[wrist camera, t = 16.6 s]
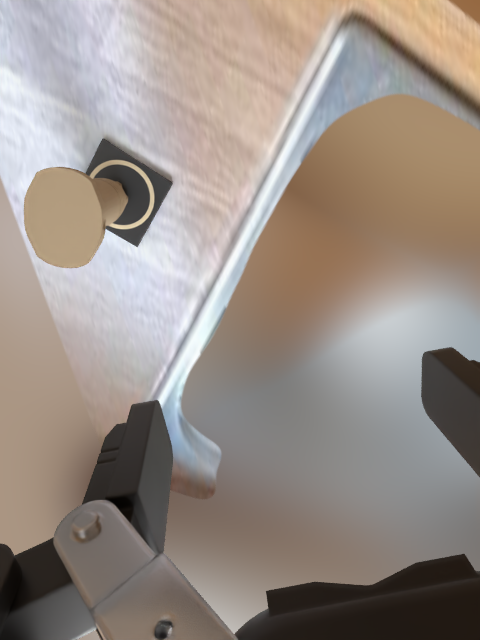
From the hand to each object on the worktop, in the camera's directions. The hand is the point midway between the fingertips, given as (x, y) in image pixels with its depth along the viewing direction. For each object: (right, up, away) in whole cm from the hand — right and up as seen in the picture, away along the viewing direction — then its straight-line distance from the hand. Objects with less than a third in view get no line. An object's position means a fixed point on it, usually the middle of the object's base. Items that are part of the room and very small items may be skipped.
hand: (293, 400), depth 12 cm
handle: (-14, +15, +28) cm, 35 cm away
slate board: (-13, +15, +29) cm, 35 cm away
